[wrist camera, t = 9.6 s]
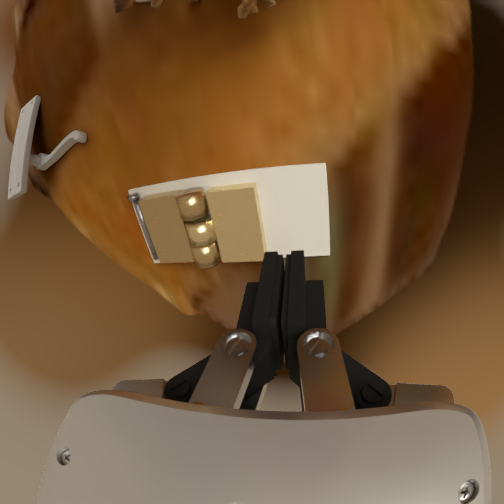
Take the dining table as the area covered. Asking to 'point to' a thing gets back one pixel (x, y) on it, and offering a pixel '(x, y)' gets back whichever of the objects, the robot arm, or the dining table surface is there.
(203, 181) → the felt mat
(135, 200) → the hinge pin
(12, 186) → the door handle
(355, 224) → the dining table surface
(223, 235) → the door leaf
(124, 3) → the decorative coral sculpture
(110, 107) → the dining table surface
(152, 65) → the dining table surface
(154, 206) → the frame leaf
